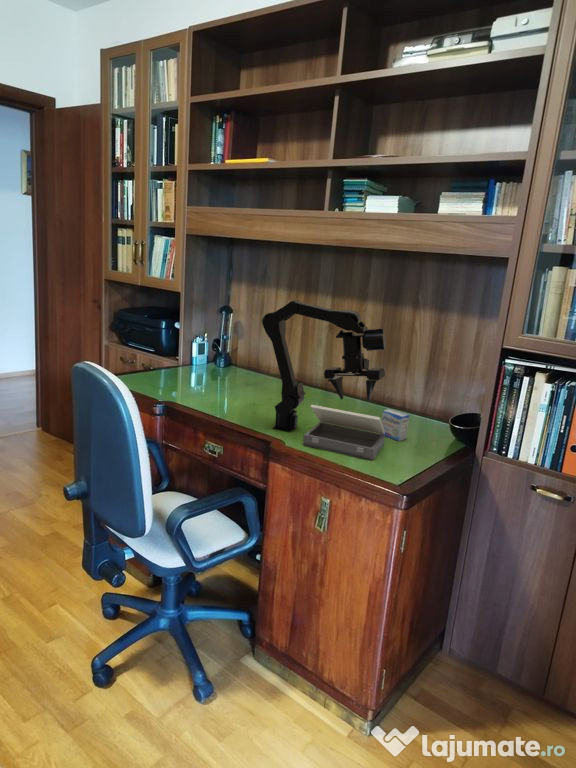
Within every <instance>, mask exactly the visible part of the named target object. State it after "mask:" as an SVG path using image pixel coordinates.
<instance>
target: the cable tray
mask: <svg viewBox="0 0 576 768" xmlns="http://www.w3.org/2000/svg"><path fill="white" fill-rule="evenodd" d="M303 445H304V446H303ZM384 445H385V435H383V434H379V433H374V432H369V431H364V430H359V429H354V428H349V427H344V426H339V425H334V424H329V423H324V422H320V421H319V422H318V423H317V424H315V425H314V426H313V427H312V428H311V429H309V430H307V432H305V433H304V434H303V443H302V446H303V447H308V446H309V448H312V447H314V449H317V448H320V449H319V450H322V449H324V450H323V451H326V450H328V451H327V452H331V451H333V452H332V453H335V452H336V454H340V455H344V456H345V455H346V456H349V457H354V458H358V459H364V460H368V461H374V459H376V457H377V455H378V454H379V452H380V451H381V450H382V448H383V447H384Z"/></svg>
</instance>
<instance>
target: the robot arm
mask: <svg viewBox="0 0 576 768" xmlns="http://www.w3.org/2000/svg"><path fill="white" fill-rule="evenodd" d="M294 315H299V316H305V317H308V318H312V319H315V320H316V319H317V320H320V321H323V322H327V323H330V324H333V325H334V326H336V327H338V328H339V329H341V330H339V332H338V333H337V335H336V336H335V338H336V339H342V347H343V348H342V352H343V355H342V356H341V359H342V360H343V367H344V368H342V367H340V366H339V367H338V366H337V367H335V366H331V367H329V368H325V369H324V371H323V379H325V380H326V379H327V381H328V382H330V383H331V385H332V387H334V389H335V391H336V393H337V395H338V396H339V398H340V400H343V399H344V388H343V378H344V377H366V379H367V380H365V386H366V387H365V388H366V398H367V401H368V402H369V401H371V399H372V395H373V391H374V387H375V386H376V383H377V382H378V381H380V380H381V379H382V378H384V377H386V372H385V369H384V368H383V367H370V359H368V358H365V355H364V352H362V348H364V349H366V351H367V352H370V351H372V352H373V351H386V348H387V337H386V335H385V328H384V327H379V328H368V326H366V325H365V323H364V322H363V320H362V316H361V314H360V313H359V311H356V310H351V309H350V310H349V309H331V308H327V307H323V306H320V305H316V304H315V305H314V304H310V303H306V302H303V301H300V300H296V299H295V300H291V301H289V302H288V303H287V304H285V305H284V306H283V307H280V308H279V309H277V310H276V311H271V312H268V313H266V314H265V315H264V316H263V317H262V319H261V324H262V327H263V329H264V331H265V334H266V335H267V337H268V338H269V340H270V342H271V343H272V344H271V345H272V347H273V353H274V356H275V360H276V362H277V368H278V372H279V375H280V379H281V392H280V393H281V401H280V402H278V403H277V404H276V405H274V409H275V422H274V423H275V424H274V425H273V426H272V428H273V429H275V430H279V431H283V432H284V431H285V432H289V433H291V432H292V431H294V430H295V429H297V427H298V416H299V415H298V414H297V413H298V412H297V410H296V409H297V408H298V407H299V406H301V405H302V403H303V402H304V400H305V395H306V392H305V390H304V383H303V382H300V383H299V382H298V381H297V380H296V376H295V371H294V369H293V365H292V360H291V356H290V352H289V349H288V344H287V340H286V332H287V331H286V328H287V325H286V322H287V321H288V320H289V319H290V318H292V317H293V316H294ZM355 333H356V334H355ZM369 367H370V368H369Z"/></svg>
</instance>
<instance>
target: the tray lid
mask: <svg viewBox="0 0 576 768" xmlns="http://www.w3.org/2000/svg"><path fill="white" fill-rule="evenodd" d="M310 408H311V410H312V411H313V413H314V414H315V416H316V417H317V418H318V421H319V422H323V423H328V424H333V425H338V426H343V427H348V428H353V429H358V430H363V431H368V432H373V433H378V434H385V431H384V428H383V425H382V418H381V416H374V415H370V414H363V413H359V412H353V411H348V410H342V409H336V408H332V407H328V406H327V407H326V406H321V405H315V404H311V405H310Z"/></svg>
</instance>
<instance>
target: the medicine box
mask: <svg viewBox="0 0 576 768" xmlns="http://www.w3.org/2000/svg"><path fill="white" fill-rule="evenodd" d="M381 417H382V418H381V422H382V425H383V428H384V431H385V434H383V435H385V437H386V438H387V439H388V438H389V439H392V440H394V441H397V442H401V441H404V440H406V439H407V433H408V429H409V427H408V426H409V421H410V414H406V413H404V412H400V411H397V410H394V409H391V408H388V409H385V410H382V415H381Z"/></svg>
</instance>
